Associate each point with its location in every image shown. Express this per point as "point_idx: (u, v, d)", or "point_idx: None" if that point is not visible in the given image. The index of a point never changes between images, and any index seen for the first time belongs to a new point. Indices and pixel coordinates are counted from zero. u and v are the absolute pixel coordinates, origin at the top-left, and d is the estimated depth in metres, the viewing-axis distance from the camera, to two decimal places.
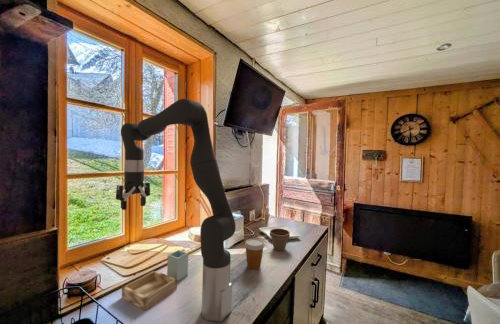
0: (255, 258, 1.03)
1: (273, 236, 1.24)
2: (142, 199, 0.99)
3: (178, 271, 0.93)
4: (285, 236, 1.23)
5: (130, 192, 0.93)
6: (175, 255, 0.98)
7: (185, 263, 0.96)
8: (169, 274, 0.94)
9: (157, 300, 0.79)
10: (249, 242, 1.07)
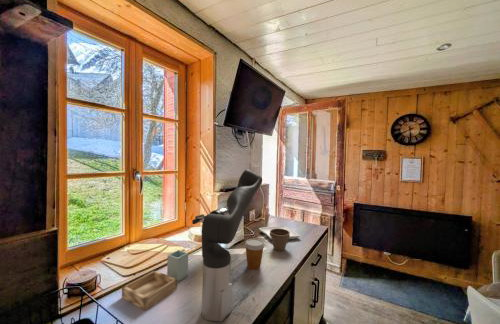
0: (255, 258, 1.03)
1: (273, 236, 1.24)
2: None
3: (178, 271, 0.93)
4: (285, 236, 1.23)
5: None
6: (175, 255, 0.98)
7: (185, 263, 0.96)
8: (169, 274, 0.94)
9: (157, 300, 0.79)
10: (249, 242, 1.07)
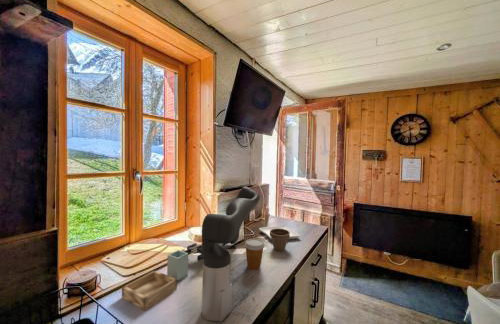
0: (255, 258, 1.03)
1: (273, 236, 1.24)
2: None
3: (178, 271, 0.93)
4: (285, 236, 1.23)
5: (197, 246, 1.10)
6: (175, 255, 0.98)
7: (185, 263, 0.96)
8: (169, 274, 0.94)
9: (157, 300, 0.79)
10: (249, 242, 1.07)
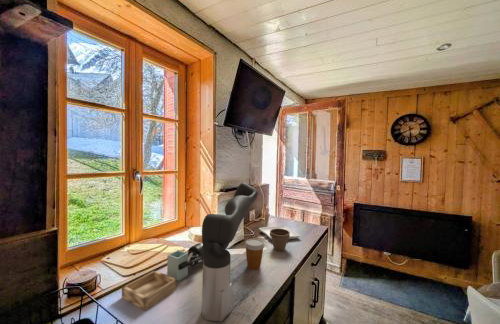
0: (255, 258, 1.03)
1: (273, 236, 1.24)
2: None
3: (178, 271, 0.93)
4: (285, 236, 1.23)
5: None
6: (175, 255, 0.98)
7: None
8: (169, 274, 0.94)
9: (157, 300, 0.79)
10: (249, 242, 1.07)
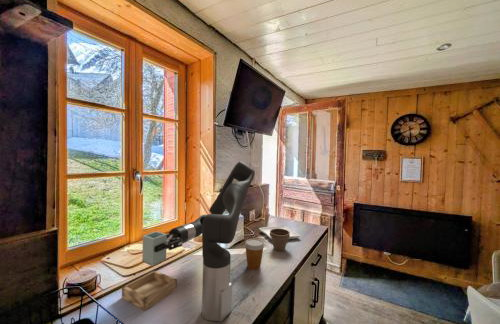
0: (255, 258, 1.03)
1: (273, 236, 1.24)
2: None
3: (154, 253, 0.82)
4: (285, 236, 1.23)
5: None
6: (152, 237, 0.87)
7: None
8: (144, 257, 0.83)
9: (157, 300, 0.79)
10: (249, 242, 1.07)
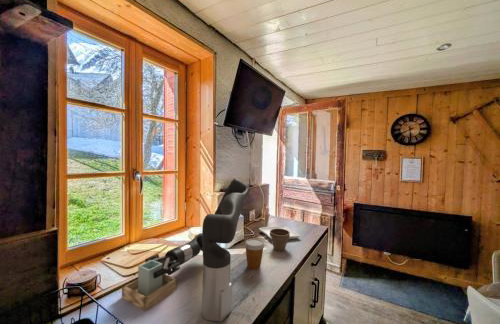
0: (255, 258, 1.03)
1: (273, 236, 1.24)
2: None
3: (150, 284, 0.81)
4: (285, 236, 1.23)
5: (157, 258, 0.90)
6: (148, 266, 0.86)
7: None
8: (140, 288, 0.82)
9: (157, 300, 0.79)
10: (249, 242, 1.07)
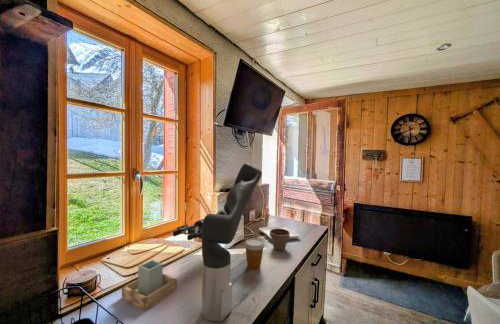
0: (255, 258, 1.03)
1: (273, 236, 1.24)
2: None
3: (150, 284, 0.81)
4: (285, 236, 1.23)
5: (188, 226, 1.03)
6: (148, 266, 0.86)
7: (159, 275, 0.84)
8: (140, 288, 0.82)
9: (157, 300, 0.79)
10: (249, 242, 1.07)
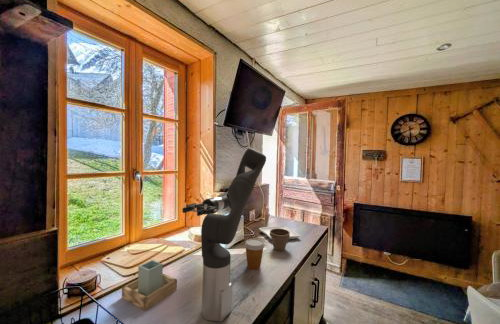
0: (255, 258, 1.03)
1: (273, 236, 1.24)
2: None
3: (150, 284, 0.81)
4: (285, 236, 1.23)
5: (196, 204, 1.05)
6: (148, 266, 0.86)
7: (159, 275, 0.84)
8: (140, 288, 0.82)
9: (157, 300, 0.79)
10: (249, 242, 1.07)
